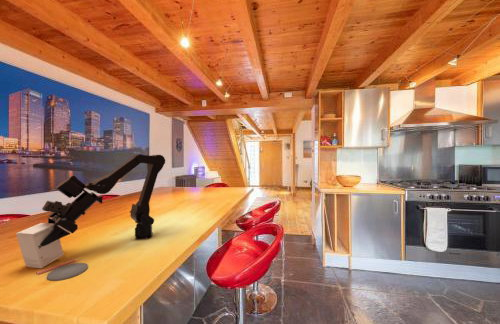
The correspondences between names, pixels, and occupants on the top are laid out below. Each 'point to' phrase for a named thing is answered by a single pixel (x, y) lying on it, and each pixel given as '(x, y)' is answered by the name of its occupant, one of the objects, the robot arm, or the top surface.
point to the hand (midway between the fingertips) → (39, 242)
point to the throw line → (55, 267)
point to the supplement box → (38, 246)
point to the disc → (67, 271)
